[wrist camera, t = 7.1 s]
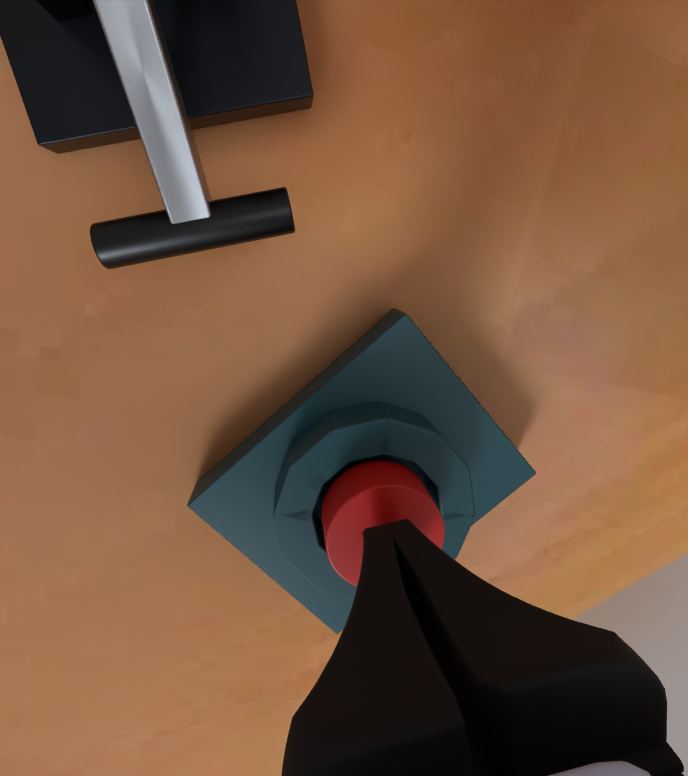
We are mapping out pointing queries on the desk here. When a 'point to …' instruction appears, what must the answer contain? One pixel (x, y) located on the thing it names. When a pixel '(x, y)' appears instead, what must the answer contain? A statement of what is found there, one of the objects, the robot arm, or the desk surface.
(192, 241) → the switch lever
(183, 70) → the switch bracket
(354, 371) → the button box
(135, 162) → the desk surface
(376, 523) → the power button
